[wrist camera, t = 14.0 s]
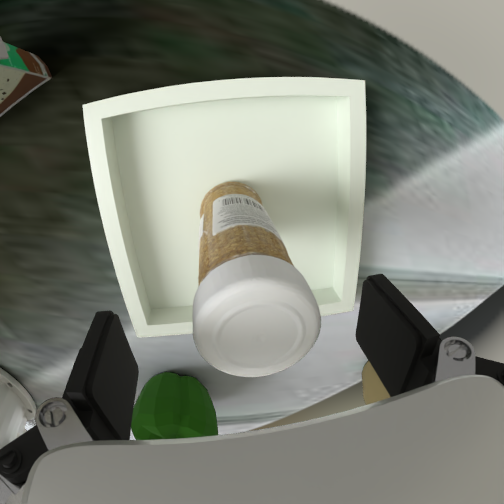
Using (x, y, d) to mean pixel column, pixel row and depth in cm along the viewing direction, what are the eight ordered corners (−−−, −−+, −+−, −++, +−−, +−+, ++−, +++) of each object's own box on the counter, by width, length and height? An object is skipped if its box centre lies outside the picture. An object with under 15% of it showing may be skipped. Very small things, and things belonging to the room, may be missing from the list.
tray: (340, 291, 28) (353, 310, 25) (142, 315, 26) (137, 337, 24) (346, 82, 20) (364, 80, 17) (98, 104, 18) (82, 105, 16)
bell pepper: (223, 402, 33) (230, 477, 24) (157, 410, 33) (152, 482, 24) (203, 354, 29) (205, 441, 20) (127, 365, 29) (111, 446, 20)
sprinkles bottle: (189, 223, 22) (170, 360, 10) (219, 168, 21) (232, 258, 9) (243, 249, 24) (278, 392, 12) (275, 198, 22) (350, 311, 10)
